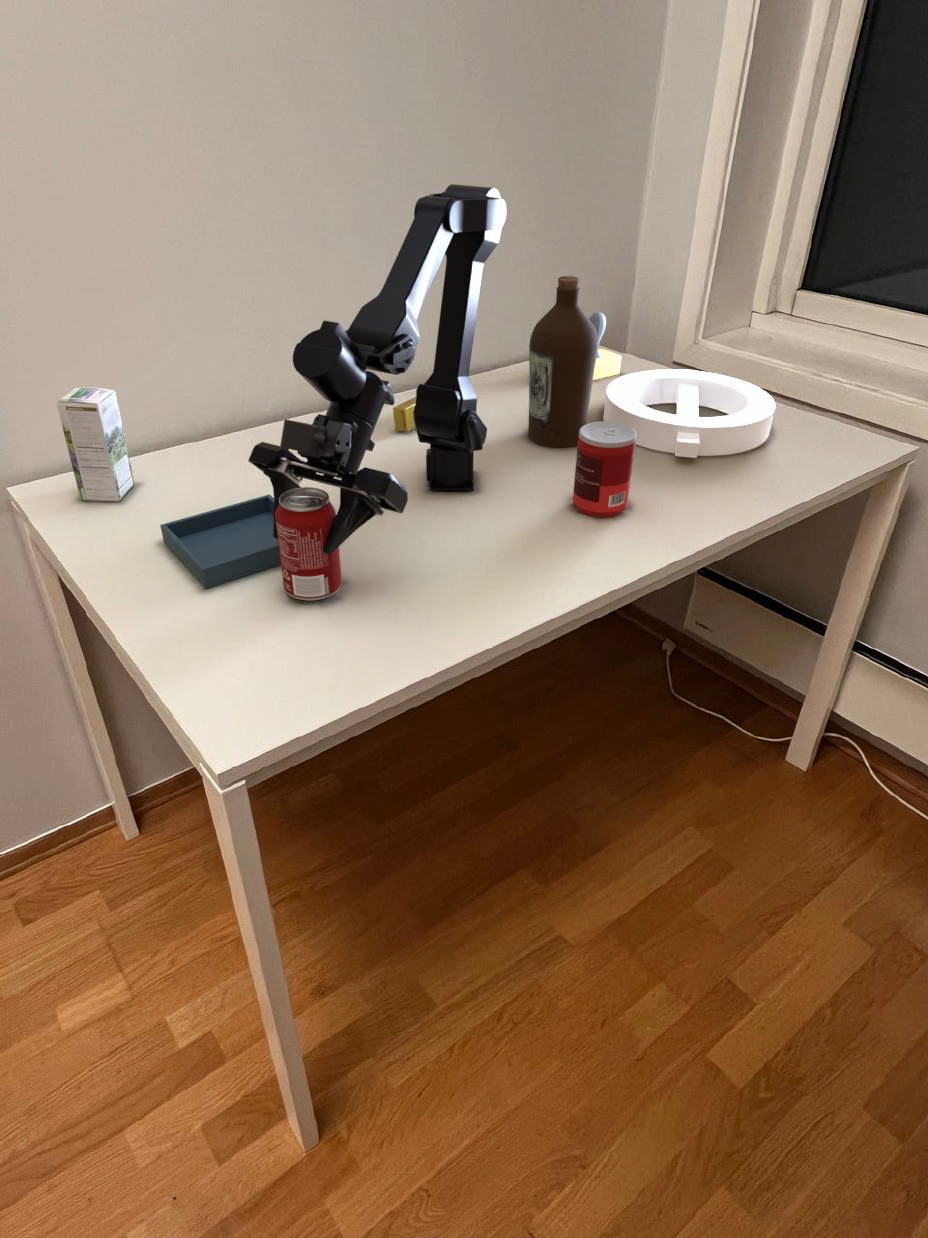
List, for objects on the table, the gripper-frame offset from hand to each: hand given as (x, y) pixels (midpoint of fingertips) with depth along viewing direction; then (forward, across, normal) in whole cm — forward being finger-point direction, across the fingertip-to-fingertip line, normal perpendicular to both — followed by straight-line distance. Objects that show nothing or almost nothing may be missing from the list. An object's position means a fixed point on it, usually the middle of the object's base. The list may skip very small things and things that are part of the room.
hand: (300, 545), depth 95 cm
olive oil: (-37, +7, +47) cm, 60 cm away
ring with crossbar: (-49, +24, +59) cm, 80 cm away
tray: (+1, -14, +8) cm, 16 cm away
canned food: (-23, +22, +32) cm, 45 cm away
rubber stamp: (-60, 0, +70) cm, 93 cm away
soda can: (+4, 0, +6) cm, 7 cm away
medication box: (-33, -16, +43) cm, 57 cm away
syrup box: (-1, -41, +10) cm, 42 cm away
